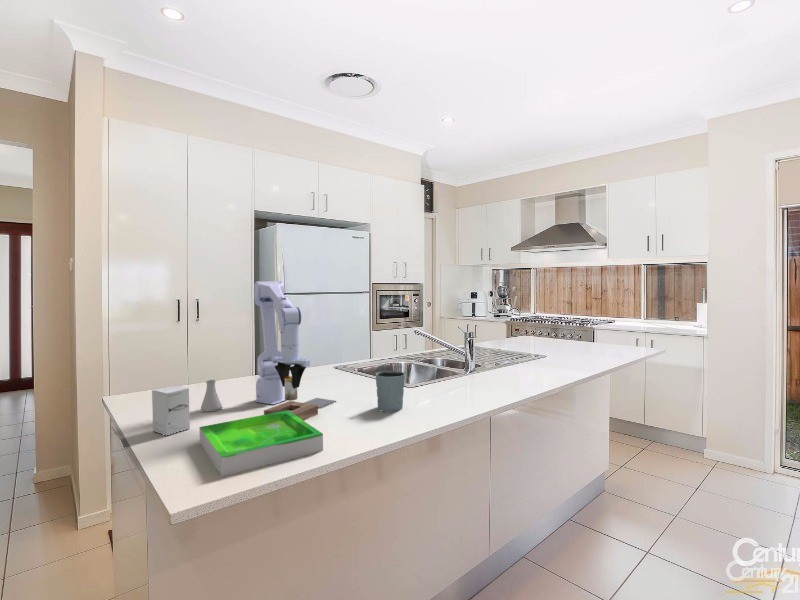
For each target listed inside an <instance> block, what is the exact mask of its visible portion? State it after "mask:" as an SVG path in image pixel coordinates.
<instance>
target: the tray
mask: <svg viewBox="0 0 800 600" xmlns="http://www.w3.org/2000/svg"><path fill="white" fill-rule="evenodd" d="M198 429H199V444H200V445H202V446H201V447H202V448H204V449H203V451H204V452H205V451H206V454H207V456H208V458H209V459H210V461H211V462H212V464H213V466H214V467H215V468H216V470H217V471H218V473H219V475H220V476H221V477H224V476H229V475H233V474H236V473H242V472H244V471H248V470H252V469H257V468H260V466H261V467H264V465H265V466H269V465H272V464H271V463H273V464H276V463H275V462H277V463H280V462H284V461H287V460H291V459H295V458H300V457H304V456H308V455H312V454H316V453H318V452H322V451H323V452H324V435H323V434H324V433H323V432H321V431H320V430H318V429H316V428H315V427H314V426H312V425H310V424H309V423H308V422H306V420H304V421H303V420H302V419H300V418H299V417H297V416H296V415H294V414H293V413H291V412H289V411H288V410H287V411H282V412H276V413H271V414H266V415H264V414H262V415H256V416H251V417H245V418H239V419H235V420H230V421H229V420H228V421H225V422H221V423H220V422H219V423H214V424H209V425H202V426H199V428H198ZM279 461H280V462H279ZM268 464H269V465H268Z"/></svg>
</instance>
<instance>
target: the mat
mask: <svg viewBox="0 0 800 600" xmlns="http://www.w3.org/2000/svg"><path fill="white" fill-rule="evenodd" d="M334 402H335V403H337V400H333V399H328V398H327V399H326V398H320V397H315V398H312V399H309V400H307V401H305V402H303V403H307V404H313V405H318V409H322V408H325V407H327V406H329V404H330V405H332V404H334Z"/></svg>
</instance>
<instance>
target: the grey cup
mask: <svg viewBox="0 0 800 600" xmlns="http://www.w3.org/2000/svg"><path fill="white" fill-rule="evenodd" d="M405 380H406V373H405V372H403V371H399V370H398V371H397V370H384V371H383V370H382V371H379V372H376V373H375V382H376V397H377V401H376V402H377V409H378V410H379V411H380V410H382V411H381V412H385V411H387V413H391V412H392V413H394V412H393V411H395V412H399V411H401V410H403V405H404V391H405V390H404V388H405V382H406V381H405ZM398 410H399V411H398Z"/></svg>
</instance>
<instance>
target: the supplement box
mask: <svg viewBox="0 0 800 600" xmlns="http://www.w3.org/2000/svg"><path fill="white" fill-rule="evenodd" d="M151 402H152V405H151V406H152V409H151V410H152V431H155V432H158V433H161V434H164V435H166V436H165V437H168V436H167V435H169V436H171V435H174V434H176V432H177V433H180V432H179V431H181V432H183V430H184V431H187V430H186V429H188V430H190V429H189V428H190V427H191V426H190V425H191V424H190V423H191V420H190V416H191V415H190V389H189V387H185V386H180V385H172V386H166V387H162V388H157V389H153V390H151ZM155 432H154V433H155ZM158 433H157V434H158ZM173 433H174V434H173ZM161 434H160V435H161ZM170 434H171V435H170ZM164 435H163V436H164Z"/></svg>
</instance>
